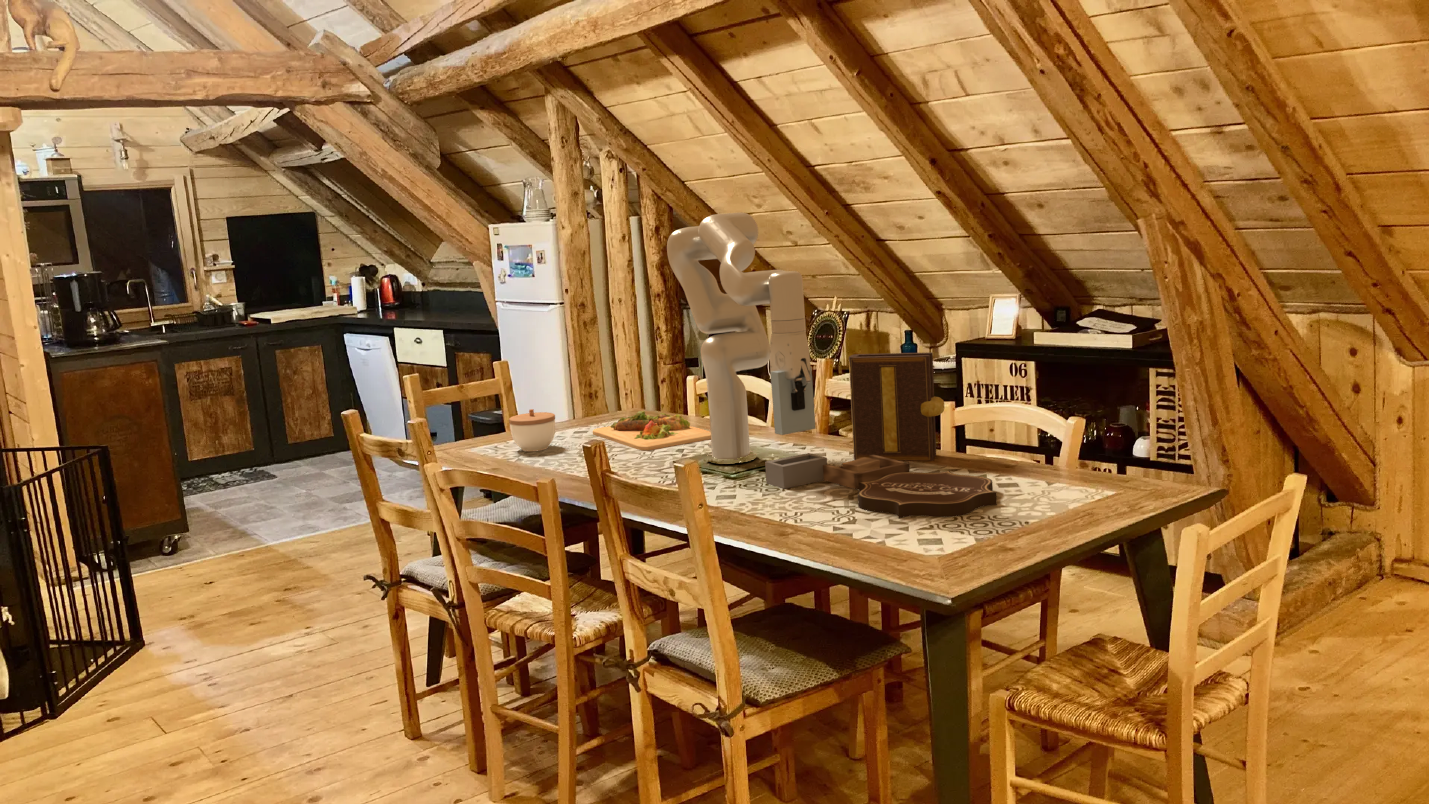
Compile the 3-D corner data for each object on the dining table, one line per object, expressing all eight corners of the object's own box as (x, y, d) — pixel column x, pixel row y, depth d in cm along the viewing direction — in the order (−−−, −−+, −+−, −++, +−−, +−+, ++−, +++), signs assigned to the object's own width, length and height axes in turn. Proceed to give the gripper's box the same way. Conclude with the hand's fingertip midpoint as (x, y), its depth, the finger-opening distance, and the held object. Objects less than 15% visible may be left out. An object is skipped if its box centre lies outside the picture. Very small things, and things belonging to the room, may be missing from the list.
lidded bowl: (567, 445, 323) (563, 406, 321) (536, 455, 313) (532, 414, 311) (533, 442, 330) (529, 404, 328) (502, 452, 320) (498, 412, 318)
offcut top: (842, 472, 262) (842, 463, 261) (864, 466, 266) (864, 457, 266) (857, 475, 258) (857, 466, 258) (879, 469, 262) (879, 459, 262)
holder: (766, 483, 264) (765, 461, 263) (809, 474, 270) (808, 453, 269) (784, 488, 258) (782, 466, 257) (828, 479, 263) (826, 457, 263)
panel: (774, 433, 260) (770, 371, 258) (807, 427, 265) (803, 366, 263) (782, 435, 258) (777, 372, 256) (815, 428, 262) (811, 367, 260)
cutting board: (719, 439, 319) (717, 412, 318) (643, 453, 308) (641, 426, 307) (661, 423, 350) (659, 398, 348) (589, 435, 338) (587, 410, 337)
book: (851, 461, 280) (846, 358, 275) (858, 453, 288) (853, 353, 283) (943, 462, 272) (939, 356, 268) (948, 454, 280) (944, 351, 276)
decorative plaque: (828, 500, 235) (885, 466, 261) (829, 514, 236) (885, 479, 261) (972, 511, 220) (1017, 474, 245) (973, 526, 220) (1018, 488, 246)
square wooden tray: (823, 480, 263) (822, 465, 262) (874, 469, 270) (873, 454, 269) (858, 490, 252) (857, 474, 251) (909, 478, 259) (909, 463, 258)
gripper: (754, 327, 263) (760, 407, 266) (795, 330, 249) (800, 415, 252) (782, 324, 267) (787, 403, 269) (823, 326, 252) (829, 410, 255)
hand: (793, 408), depth 260 cm, fingers closed on panel, 3 cm apart
